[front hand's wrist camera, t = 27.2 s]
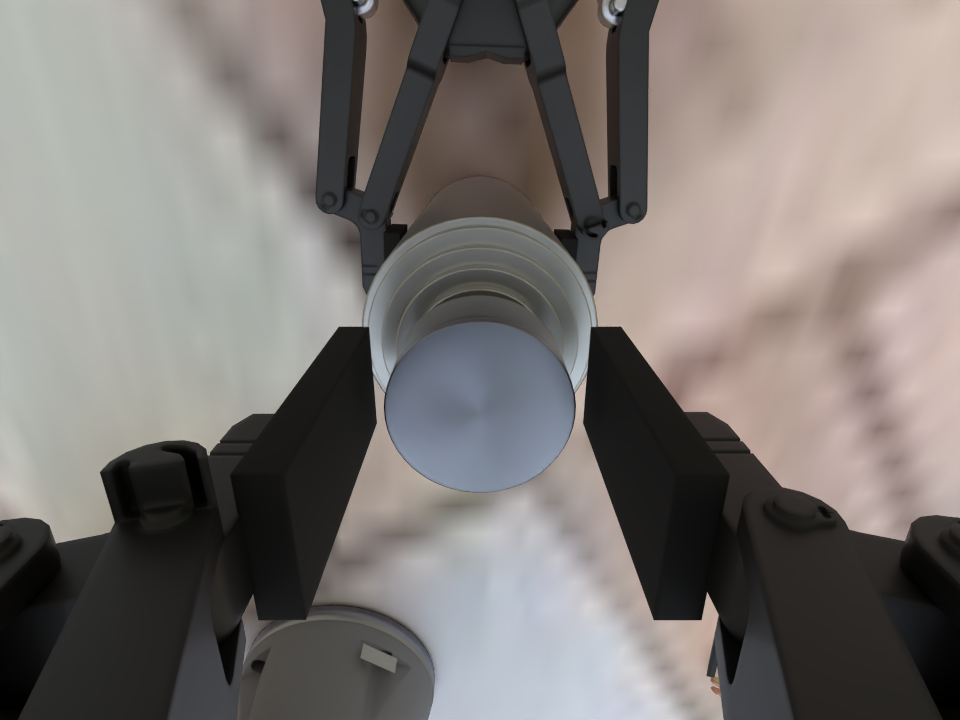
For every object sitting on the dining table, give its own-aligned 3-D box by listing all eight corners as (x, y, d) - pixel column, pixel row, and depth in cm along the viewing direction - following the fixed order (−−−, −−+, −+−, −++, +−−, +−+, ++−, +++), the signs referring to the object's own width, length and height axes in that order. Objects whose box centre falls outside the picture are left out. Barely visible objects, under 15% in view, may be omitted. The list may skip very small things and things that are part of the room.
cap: (596, 380, 14) (614, 418, 12) (474, 474, 16) (473, 523, 14) (486, 258, 13) (487, 280, 11) (362, 369, 14) (343, 406, 12)
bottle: (530, 308, 34) (598, 538, 15) (412, 292, 34) (320, 507, 14) (552, 185, 31) (669, 267, 12) (424, 167, 31) (330, 221, 12)
